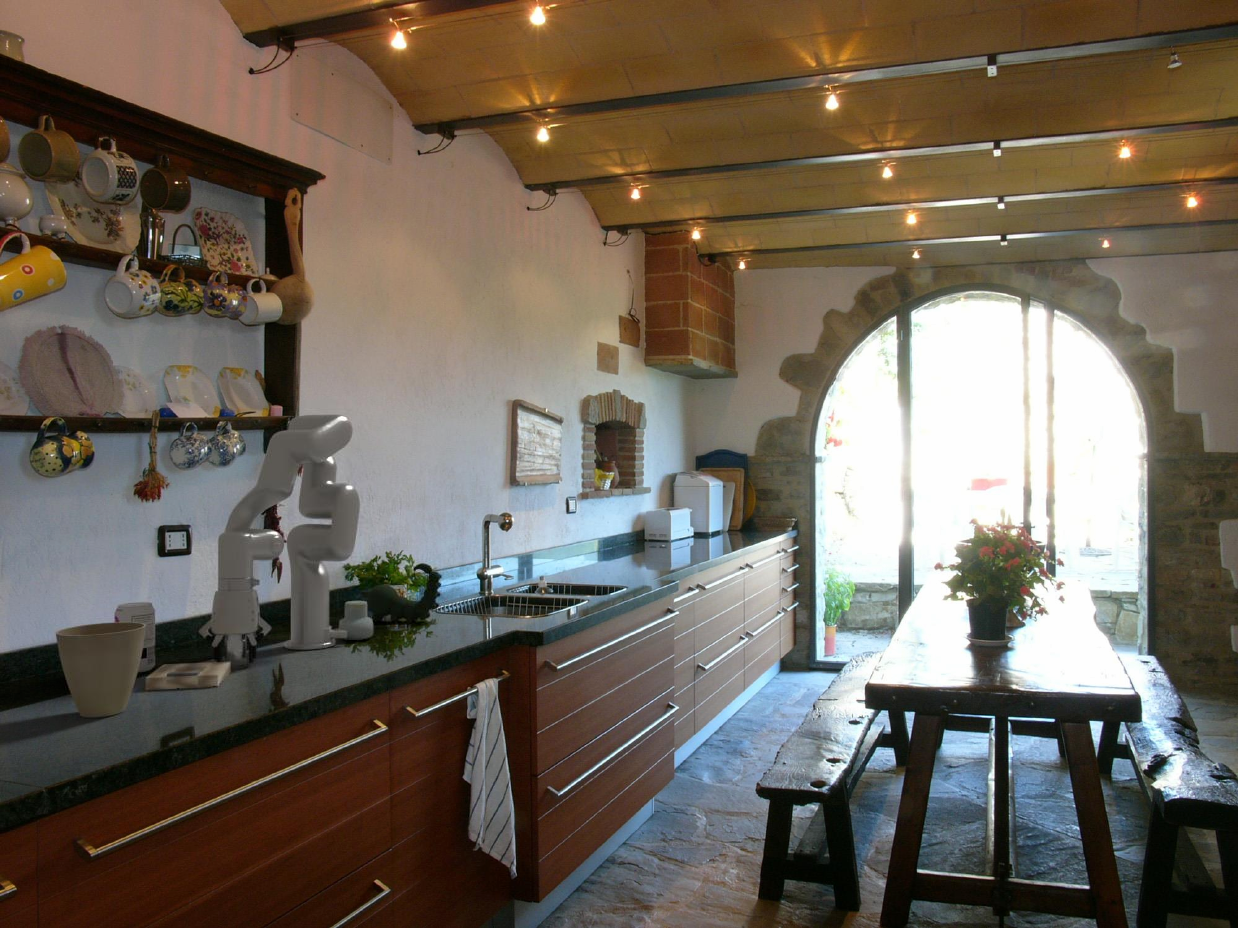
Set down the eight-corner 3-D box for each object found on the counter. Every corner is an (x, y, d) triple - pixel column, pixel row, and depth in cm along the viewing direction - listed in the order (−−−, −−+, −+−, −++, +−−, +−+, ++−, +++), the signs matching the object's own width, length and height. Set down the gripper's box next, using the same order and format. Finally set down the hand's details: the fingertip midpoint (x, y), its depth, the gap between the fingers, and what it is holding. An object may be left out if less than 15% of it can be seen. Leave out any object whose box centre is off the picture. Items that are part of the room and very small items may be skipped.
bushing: (247, 664, 220) (247, 630, 220) (244, 668, 215) (244, 634, 215) (226, 665, 219) (226, 631, 219) (222, 669, 214) (222, 634, 215)
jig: (230, 672, 211) (230, 658, 211) (217, 686, 198) (217, 671, 198) (163, 675, 208) (163, 661, 208) (145, 689, 195) (145, 675, 195)
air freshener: (374, 641, 250) (374, 603, 250) (342, 643, 247) (342, 605, 247) (369, 634, 260) (369, 598, 260) (338, 636, 257) (338, 600, 257)
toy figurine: (440, 625, 286) (362, 616, 289) (446, 563, 286) (367, 555, 289) (430, 630, 276) (350, 621, 279) (436, 566, 276) (355, 558, 279)
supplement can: (110, 674, 209) (110, 607, 210) (119, 667, 217) (119, 602, 217) (150, 672, 212) (150, 606, 212) (158, 665, 220) (158, 601, 220)
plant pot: (125, 699, 187) (125, 619, 187) (159, 711, 177) (160, 626, 178) (42, 714, 175) (42, 629, 176) (74, 727, 166) (74, 637, 166)
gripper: (277, 582, 223) (277, 657, 223) (199, 584, 219) (199, 661, 219) (272, 585, 215) (272, 664, 215) (191, 588, 212) (191, 667, 212)
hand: (235, 661), depth 217 cm, fingers open, 6 cm apart
